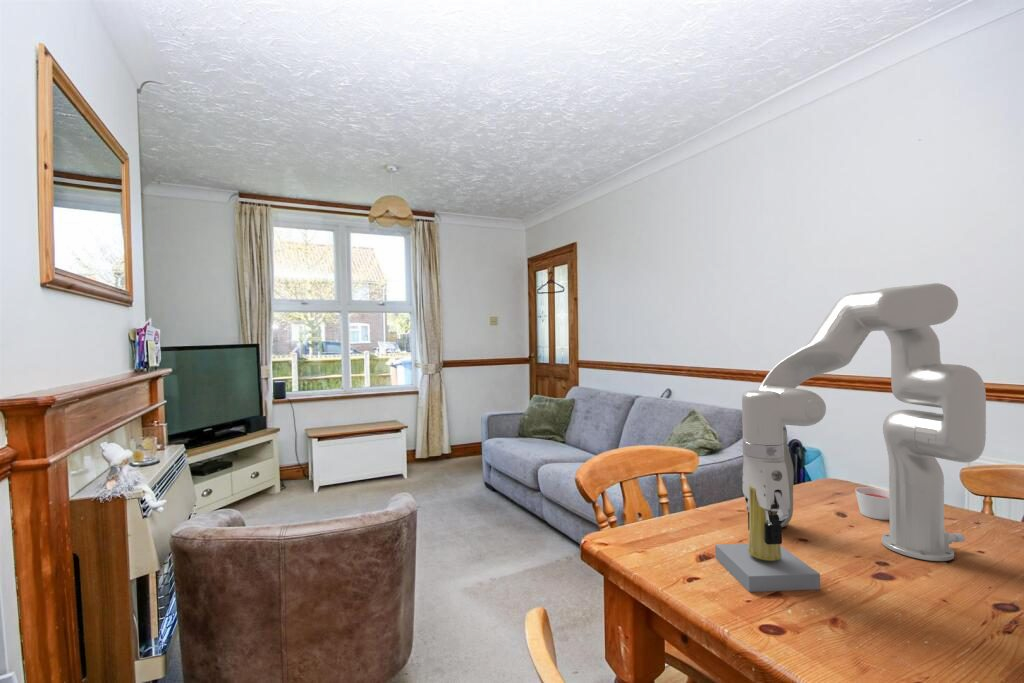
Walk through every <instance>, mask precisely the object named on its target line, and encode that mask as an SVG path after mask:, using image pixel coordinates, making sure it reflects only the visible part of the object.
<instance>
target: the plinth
mask: <svg viewBox="0 0 1024 683" xmlns="http://www.w3.org/2000/svg"><path fill="white" fill-rule="evenodd" d="M780 546H781V559H779V560H777V561H766V560H761V559H758V558H755V557H753V556H752V555H751V554H750V553H749V552H748V549H749V543H729V544H728V543H727V544H725V543H724V544H722V543H721V544H715V547H714V548H715V550H714V551H715V554H714V555H715V559H716V560H717V561H718V562H719V563H720V564H721V566H723V567H724V569H726V571H728V572H729V574H731V576H733V578H734V579H736V581H738V582H739V583H740V584H741V585H742V586H743V587H744V588H745V589H746V590H747V591H748V592H750V593H753V592H755V593H757V592H779V591H780V592H781V591H782V592H783V591H785V592H786V591H806V590H807V591H811V590H821V574H820V573H819V572H818V571H816V570H815V569H814V568H812V567H811V566H810V565H808V563H806V562H804V561H803V560H801V559H800V558H799V557H798V556H796V555H794V553H792V552H790V551H789V550H788V549H786V548H785V547H783V546H782V545H781V544H780Z"/></svg>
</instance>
